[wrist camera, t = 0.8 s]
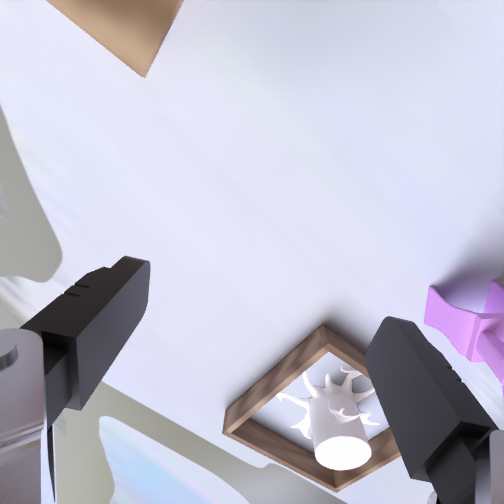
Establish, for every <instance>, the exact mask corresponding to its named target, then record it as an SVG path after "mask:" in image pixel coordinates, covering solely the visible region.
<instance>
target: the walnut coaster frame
mask: <svg viewBox="0 0 504 504" xmlns="http://www.w3.org/2000/svg"><path fill="white" fill-rule="evenodd" d="M328 351H329V352H331V353H332V354H334V355H335V356H337V357H338V358H340V359H341V360H343V361H344V362H346V363H347V364H349V365H350V366H352V367H353V368H355V369H356V370H358V371H359V372H361V373H362V374H364V375H365V376H367V377H368V378H370V377H369V374H368V372H367V369H366V365H365V355H366V353H364V352H363V351H361V350H360V349H358V348H357V347H355V346H354V345H353V344H351V343H350V342H348V341H347V340H345V339H344V338H342V337H341V336H340V335H338V334H337V333H335V332H334V331H332V330H331V329H329V328H328V327H327V326H325V325H324V324H322V325H321V326H320V327H319V328H317V329H316V330H315V331H314V332H313V333H312V334H311V335H310V336H308V337H307V338H306V339H305V340H304V341H303V342H302V343H301V344H300V345H298V346H297V347H296V348H295V349H294V350H293V351H292V352H291V353H289V354H288V355H287V356H286V357H285V358H284V359H283V360H282V361H281V362H279V363H278V364H277V365H276V366H275V367H274V368H273V369H272V370H270V371H269V372H268V373H267V374H266V375H265V376H264V377H263V378H262V379H260V380H259V381H258V382H257V383H256V384H255V385H254V386H253V387H251V388H250V389H249V390H248V391H247V392H246V393H245V394H244V395H243V396H241V397H240V398H239V399H238V400H237V401H236V402H235V403H234V404H232V405H231V406H230V407H229V408H228V409H227V410H226V411H225V417H224V424H223V431H222V434H224V435H226V436H228V437H230V438H232V439H234V440H236V441H238V442H240V443H242V444H243V445H245V446H247V447H249V448H251V449H253V450H255V451H257V452H259V453H261V454H263V455H265V456H267V457H268V458H270V459H272V460H274V461H276V462H278V463H280V464H282V465H284V466H286V467H288V468H290V469H291V470H293V471H295V472H297V473H299V474H301V475H303V476H305V477H307V478H309V479H311V480H313V481H315V482H316V483H318V484H320V485H322V486H324V487H326V488H328V489H330V490H332V491H334V492H336V493H337V492H339V491H340V490H342V489H344V488H345V487H347V486H349V485H351V484H352V483H354V482H356V481H358V480H359V479H361V478H363V477H365V476H366V475H368V474H370V473H372V472H373V471H375V470H377V469H379V468H380V467H382V466H384V465H386V464H387V463H389V462H391V461H393V460H394V459H396V458H398V457H400V456H401V454H400V451H399V449H398V446H397V444H396V441H395V439H394V436H393V434H392V431H391V429H390V428H388V429H387V430H385V431H384V432H382V433H380V434H379V435H377V436H376V437H374V438H372V439H371V440H369V441H368V442H369V445H370V448H371V457H370V458H369V459H368V461H367V462H366V463H364V464H363V465H361V466H360V467H359V466H358V467H356V468H353V469H349V470H347V469H346V470H335V469H330V468H327V467H325V466H323V465H321V464H320V463H319V462H318V461H317V459H316V457H315V455H314V454H312V453H310V452H308V451H306V450H304V449H303V448H301V447H299V446H297V445H295V444H293V443H292V442H290V441H288V440H286V439H284V438H283V437H281V436H279V435H277V434H275V433H273V432H272V431H270V430H268V429H266V428H264V427H262V426H261V425H259V424H257V423H255V422H253V421H252V420H250V419H248V418H249V417H250V416H252V415H253V414H254V413H255V412H256V411H258V410H259V409H260V408H261V407H262V406H264V405H265V404H266V403H267V402H268V401H270V400H271V399H272V398H273V397H274V396H276V395H277V394H278V393H279V392H280V391H282V390H283V389H284V388H285V387H286V386H288V385H289V384H290V383H291V382H292V381H294V380H295V379H296V378H297V377H298V376H300V375H301V374H302V373H303V372H304V371H306V370H307V369H308V368H309V367H310V366H312V365H313V364H314V363H315V362H316V361H317V360H319V359H320V358H321V357H322V356H323V355H325V354H326V353H327V352H328Z"/></svg>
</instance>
